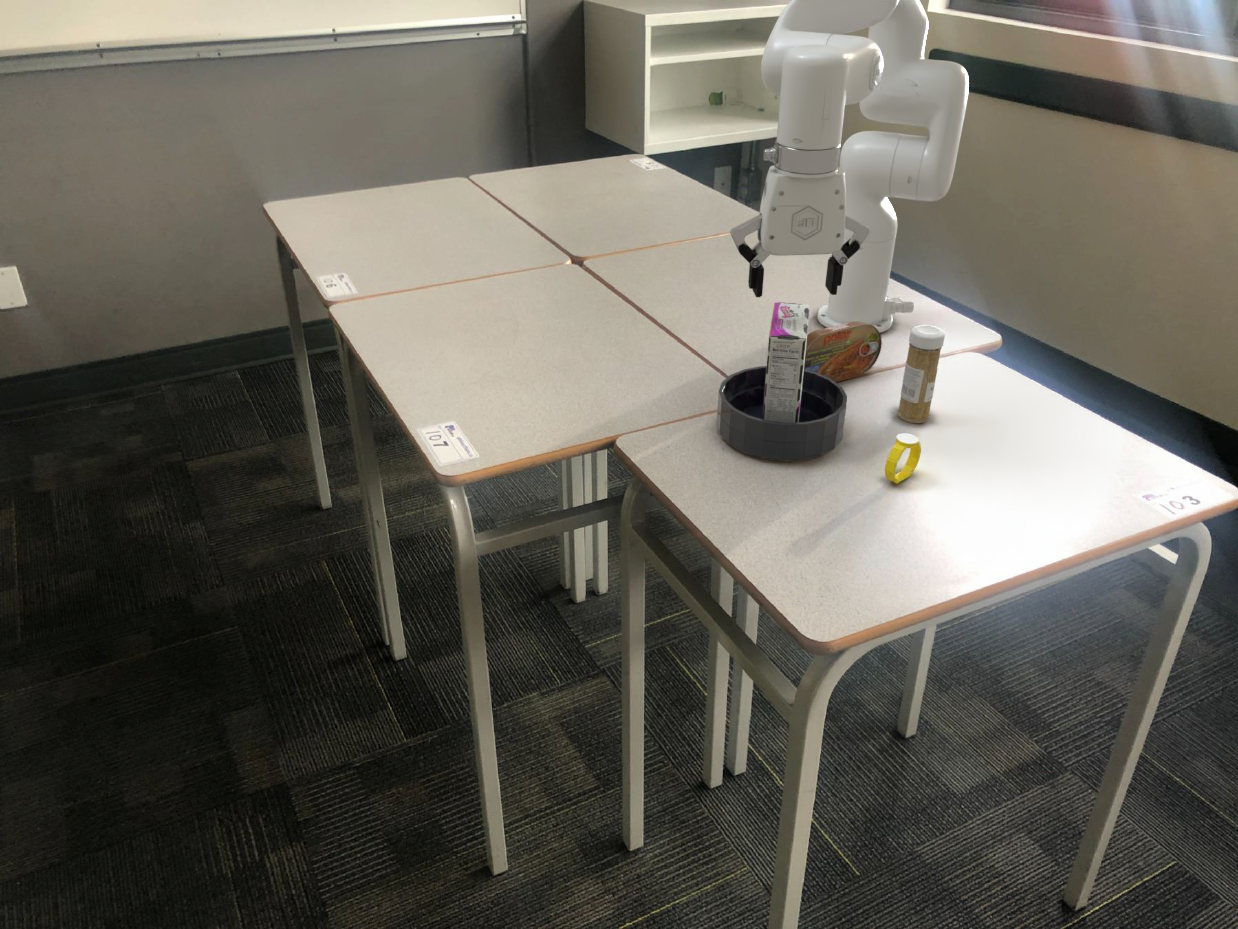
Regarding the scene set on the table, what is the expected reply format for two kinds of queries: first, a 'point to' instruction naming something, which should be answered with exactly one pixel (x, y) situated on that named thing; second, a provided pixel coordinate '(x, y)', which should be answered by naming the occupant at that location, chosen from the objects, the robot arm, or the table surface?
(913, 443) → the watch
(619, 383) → the table surface
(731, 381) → the bowl
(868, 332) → the tin
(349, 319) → the table surface
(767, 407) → the candy bar box
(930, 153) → the robot arm
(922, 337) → the spice jar
